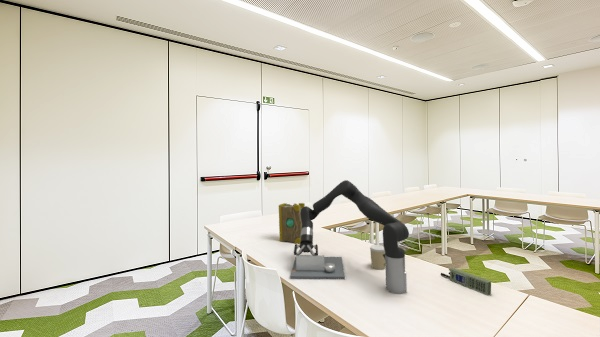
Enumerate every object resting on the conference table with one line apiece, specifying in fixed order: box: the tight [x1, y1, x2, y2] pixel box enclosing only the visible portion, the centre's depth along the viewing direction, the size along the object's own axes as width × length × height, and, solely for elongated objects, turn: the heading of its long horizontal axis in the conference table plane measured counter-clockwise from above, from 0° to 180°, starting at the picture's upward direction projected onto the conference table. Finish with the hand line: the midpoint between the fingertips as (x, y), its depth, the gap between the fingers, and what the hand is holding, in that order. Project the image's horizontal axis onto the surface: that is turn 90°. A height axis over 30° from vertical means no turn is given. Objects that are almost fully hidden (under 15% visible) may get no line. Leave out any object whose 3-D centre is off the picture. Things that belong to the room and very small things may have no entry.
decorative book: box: [278, 202, 306, 245], centre depth 224 cm, size 20×11×30 cm, turn 63°
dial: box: [295, 254, 335, 272], centre depth 161 cm, size 22×6×8 cm, turn 84°
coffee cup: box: [369, 244, 386, 271], centre depth 168 cm, size 9×9×12 cm
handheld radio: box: [440, 266, 492, 296], centre depth 143 cm, size 7×3×25 cm
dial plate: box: [289, 256, 346, 280], centre depth 169 cm, size 30×30×2 cm
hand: (305, 261), depth 163 cm, fingers open, 8 cm apart
